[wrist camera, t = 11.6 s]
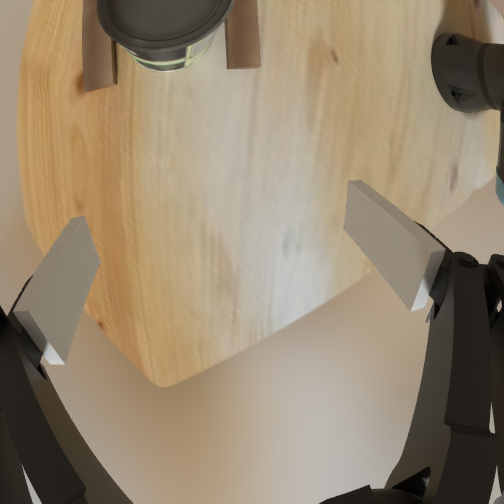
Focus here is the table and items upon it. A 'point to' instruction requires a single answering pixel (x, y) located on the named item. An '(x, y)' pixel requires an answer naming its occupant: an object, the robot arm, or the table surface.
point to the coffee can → (163, 29)
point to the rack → (103, 47)
